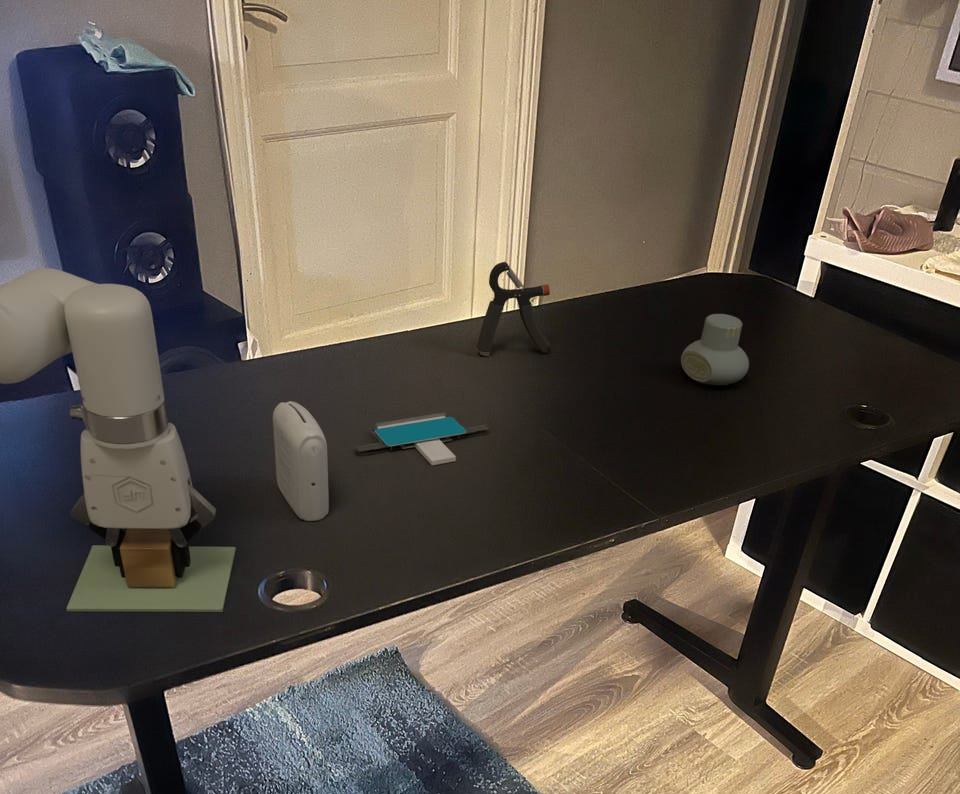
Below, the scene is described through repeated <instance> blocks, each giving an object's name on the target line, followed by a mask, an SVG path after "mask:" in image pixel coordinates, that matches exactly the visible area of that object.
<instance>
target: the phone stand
mask: <svg viewBox="0 0 960 794" xmlns="http://www.w3.org/2000/svg"><path fill="white" fill-rule="evenodd" d="M446 414H447V413H446V411H444V412H437V413H431V414H425V415H418V416H414V417H407V418H401V419H394V420H388V421H382V422H376V423H375V429H371V434H372V435H373V436H374V438H375V439H377V442H372V443H368V444H361V445H356V446H354V448H355V449H356V450H354V452H355V453H356V454H357V456H358V457H360V456H361V457H362V456H365V455H374V454H381V453H386V452H392V451H398V450H403V449H404V450H405V449H409V448H415V449H416V450H417V451H418V453H420V454H421V456H422V457H423V458H424V459H425V460H426V461H427V463H429V464H430V465H431V466H437V465H443V464H447V463H452V462H457V456H456V455H455V454H454V453H453V452H452V451H451V450H450V449H449V448H448V447H447V446H446V445H445V444H444V443H445V442H450V441H456V440H460V439H464V438H465V439H466V438H472V437H477V436H481V435H486V434H490V432H489V431H488V430H489V429H490V428H489V427H488V426H487V425H486V424H479V425H473V426H466V427H463V426H462V425H461V424H460V422H459V421H457V420H456V419H455V418H454V417H452V416H447V415H446ZM446 416H447V417H446Z"/></svg>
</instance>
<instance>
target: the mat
mask: <svg viewBox="0 0 960 794" xmlns="http://www.w3.org/2000/svg"><path fill="white" fill-rule="evenodd" d="M189 551H190V559H191V561H190V566H189V567H185V570H184V574H183V577H182V578H177V580H176V584H175V587H128V586H127V582H126V578H122V577H121V573H120V568H119V567H116V566H115V564H114V559H113V554H112V550H111V547H110V546H108V545H104V544H103V545H101V544H100V545H99V544H96V545H95V544H94V545H92V546H91V548H90V551H89V553H88V556H87V558H86V560H85V563H84V564H83V568H82V569H81V572H80V575H79V577H78V580H77V581H76V583H75V584H76V585H75V586H74V589H73V591H72V594H71V597H70V598H69V601H68V603H67V606H66V608H65V609H66V611H67V612H90V613H91V612H93V613H94V612H100V613H101V612H102V613H105V612H107V613H108V612H109V613H111V612H112V613H114V612H115V613H116V612H117V613H119V612H121V613H122V612H123V613H125V612H126V613H134V612H135V613H156V612H157V613H223V612H224V608H225V603H226V599H227V598H226V597H227V594H228V589H229V584H230V580H231V575H232V574H231V573H232V570H233V564H234V561H235V555H236V551H237V549H236V547H235V546H190V545H189Z"/></svg>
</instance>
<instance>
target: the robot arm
mask: <svg viewBox="0 0 960 794" xmlns="http://www.w3.org/2000/svg"><path fill="white" fill-rule="evenodd" d="M152 312H153V311H152V307H151V304H150V301H149V300H148V298H147V297H146V296H145V295H144V293H143V292H142V291H140V290H138V289H137V288H135V287H132V286H129V285H125V284H119V283H97V282H94V281H91V280H88V279H86V278H84V277H83V278H82V277H80V276H77V275H74V274H72V273H69V272H67V271H63V270H60V269H57V268H50V267H39V268H35V269H30V270H29V271H27V272H24V273H23V274H20V275H19V276H17V277H15V278H13V279H11V280H10V281H9V280H8V281H7V282H5V283H3V284H1V285H0V384H3V385H10V384H17V383H21V382H22V381H26V380H27V379H29V378H31V377H32V376H33V375H35V374H37V373H38V372H40V371H41V370H43V369H44V368H45V367H47V366H48V365H50V364H51V363H52V362H55V360H57V359H59V358H62V357H64V356H66V355H70V354H72V358H73V362H74V366H75V373H76V376H77V380H78V386H79V390H80V396H81V401H82V403H78V404H77V405H76V404H75V405H70V406H69V417H70V419H71V420H79V421H80V422H83V424H84V426H85V428H84V429H83V431H81V434H80V444H79V445H80V446H79V447H80V466H81V477H82V486H83V493H82V495H81V496H80V497H79V498H78V499H77V501H76V502H75V504H74V505H73V507H72V509H71V511H70V513H69V515H70V517H71V518H73V519H74V520H76V521H77V522H79V523H81V524H82V525H84V526H87V527H88V528H89V530H90V531H92V532H93V533H94V534H96V535H97V536H99V537H100V538H102V539H103V540H104V542H105V545H106V546H110V547H111V550H112V554H113V559H114V564H115V566H116V567H119V568H120V573H121V577H122V578H126V577H125V572H124V567H123V562H122V558H121V553H120V546H121V544H122V541H123V538H124V536H125V533H126V531H124V529H125V530H127V529H168V531H169V533H170V535H171V537H172V539H173V544H172V547H171V552H172V558H173V565H174V571H175V576H176V577H177V578H182V577H183V574H184V570H185V567H189V566H190V561H191V559H190V551H189V546H190V544H189V541H190V540H192V538H193V537H195V535H196V534H198V533H199V532H200V530H201V529H202V528H204V527H206V526H207V525H209V524H210V523H211V522H212V521H214V520H215V518H216V515H217V509H216V507H215V506H214V505H213V504H212V503H210V502H209V501H208V500H207V499H206V498H205V497H204V496H203V495H202V494H201V493H200V492H199V491H197V490H196V489H195V488H194V487H193V483H192V477H191V473H190V469H189V465H188V461H187V457H186V453H185V450H184V448H183V445H182V441H181V438H180V435H179V433H178V431H177V428H176V426H175V424H174V423H172V422H169V419H168V412H167V405H166V404H167V403H166V399H165V398H166V397H165V393H164V386H163V379H162V371H161V366H160V358H159V352H158V345H157V338H156V332H155V325H154V317H153V313H152ZM192 509H193V510H194V511H195V512H196V514H194V515H191V513H192Z"/></svg>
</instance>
